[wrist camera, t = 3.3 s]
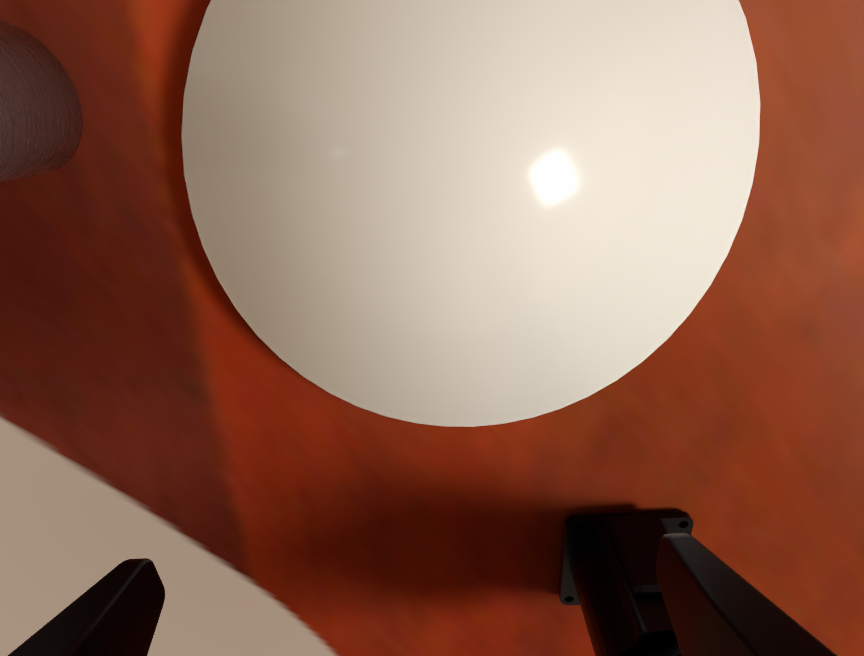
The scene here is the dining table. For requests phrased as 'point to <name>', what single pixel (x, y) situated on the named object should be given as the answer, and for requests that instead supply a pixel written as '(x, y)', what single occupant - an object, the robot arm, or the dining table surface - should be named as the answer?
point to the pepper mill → (34, 107)
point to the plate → (468, 188)
